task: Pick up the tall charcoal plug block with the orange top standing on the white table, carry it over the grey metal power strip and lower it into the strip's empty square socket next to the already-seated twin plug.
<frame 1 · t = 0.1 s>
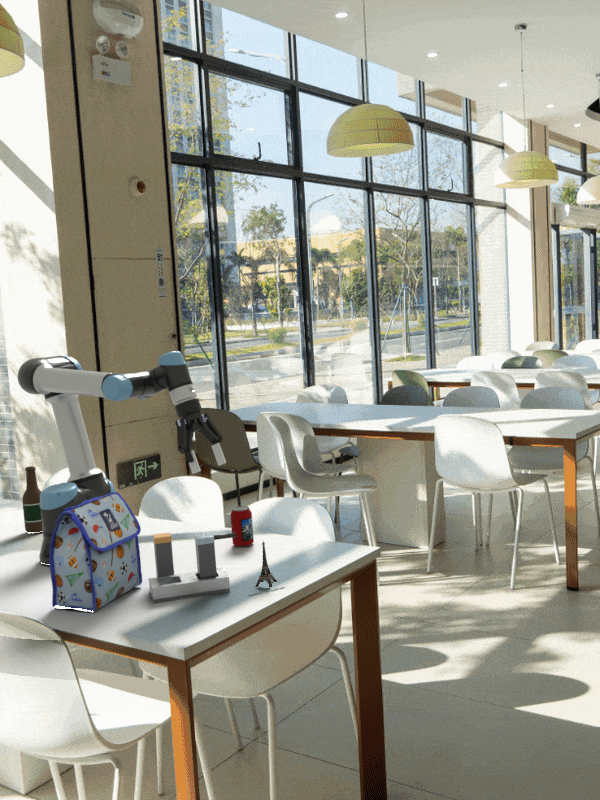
hand: (210, 468, 246), 28 cm above the table, tool tilted 20°, fingers open, 13 cm apart
pdu strip: (189, 592, 219), on the table
beer bottle: (36, 532, 301), on the table
lunch bag: (100, 599, 219), on the table
beverage can: (243, 545, 263), on the table
plug: (166, 583, 228), on the table
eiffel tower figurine: (266, 588, 220), on the table
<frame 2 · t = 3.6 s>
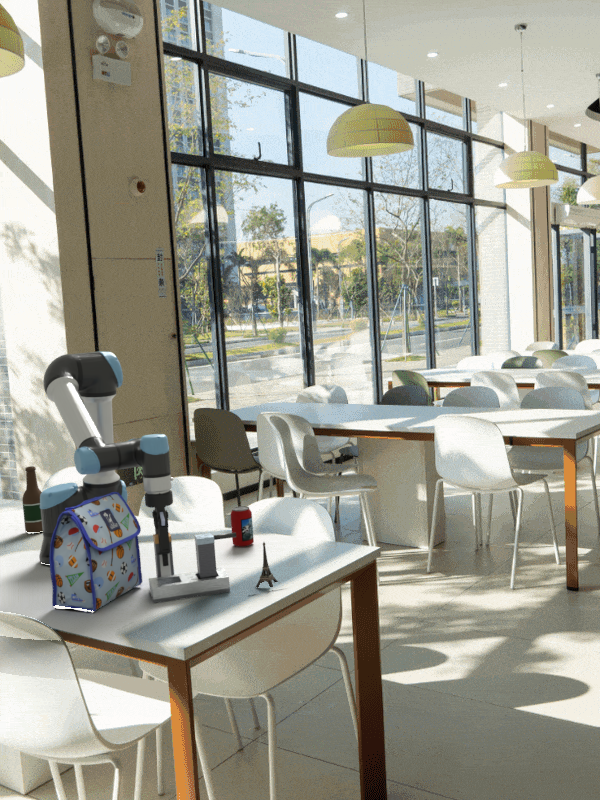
hand: (165, 574, 228), 3 cm above the table, tool pointing down, fingers closed on plug, 4 cm apart
plug: (166, 583, 228), on the table, touching gripper
everything else where it was.
when the fingers open (5 cm above the table, at t = 7.7 s): plug drops 1 cm, resting on pdu strip.
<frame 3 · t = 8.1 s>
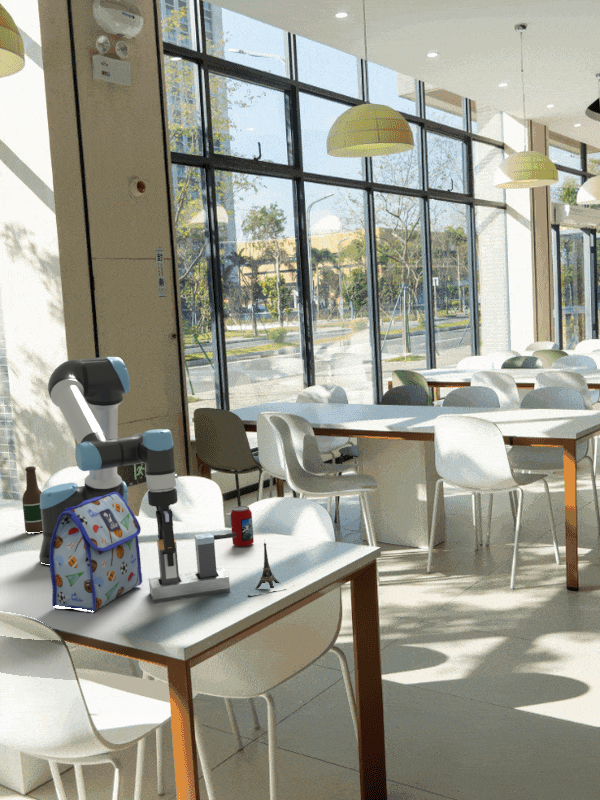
hand: (168, 572, 217), 6 cm above the table, tool pointing down, fingers open, 10 cm apart
plug: (170, 591, 217), point 1 cm above the table, touching pdu strip
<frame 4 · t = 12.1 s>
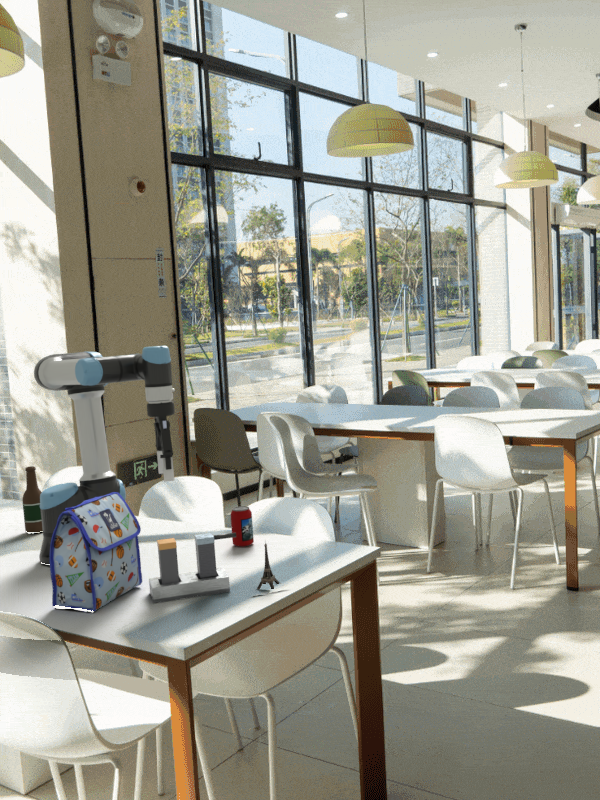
hand: (166, 477, 231), 29 cm above the table, tool pointing down, fingers open, 13 cm apart
at the end: plug 0.0 cm from the target spot on the pdu strip, point 1.0 cm above the pdu strip's base; plug tilted 0°; the gripper is holding nothing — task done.
